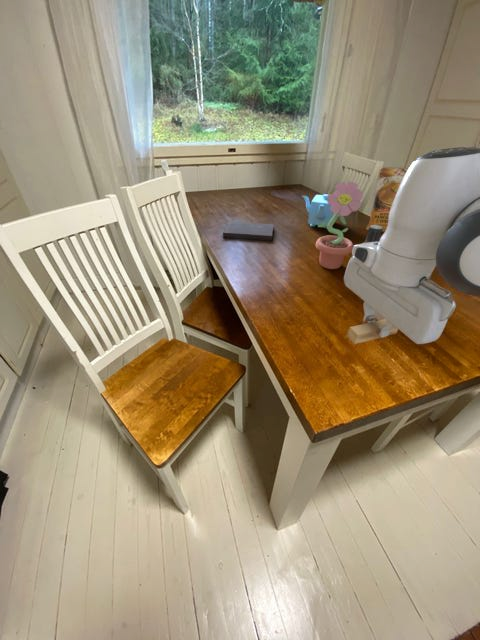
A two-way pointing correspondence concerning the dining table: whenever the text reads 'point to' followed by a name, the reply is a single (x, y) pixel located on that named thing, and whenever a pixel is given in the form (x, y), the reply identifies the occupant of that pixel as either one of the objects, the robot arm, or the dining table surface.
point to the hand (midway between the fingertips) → (374, 328)
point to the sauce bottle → (373, 233)
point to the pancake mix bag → (385, 195)
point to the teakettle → (318, 210)
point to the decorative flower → (337, 246)
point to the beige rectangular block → (367, 331)
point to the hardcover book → (249, 230)
